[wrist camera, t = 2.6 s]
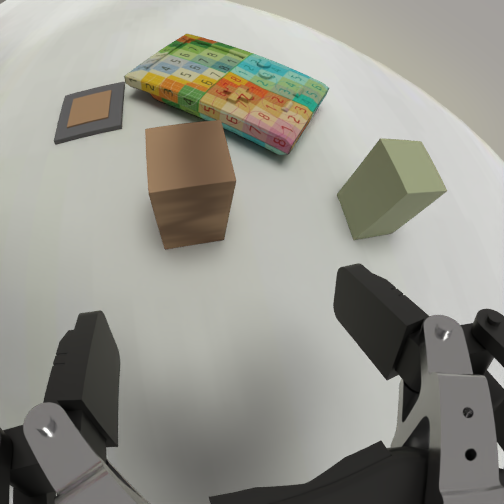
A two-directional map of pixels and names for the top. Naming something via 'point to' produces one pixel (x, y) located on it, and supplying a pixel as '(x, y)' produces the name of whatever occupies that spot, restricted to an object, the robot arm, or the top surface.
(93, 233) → the top surface
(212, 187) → the walnut block
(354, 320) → the robot arm
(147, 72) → the puzzle game
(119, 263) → the top surface
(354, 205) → the olive block
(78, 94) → the tile
